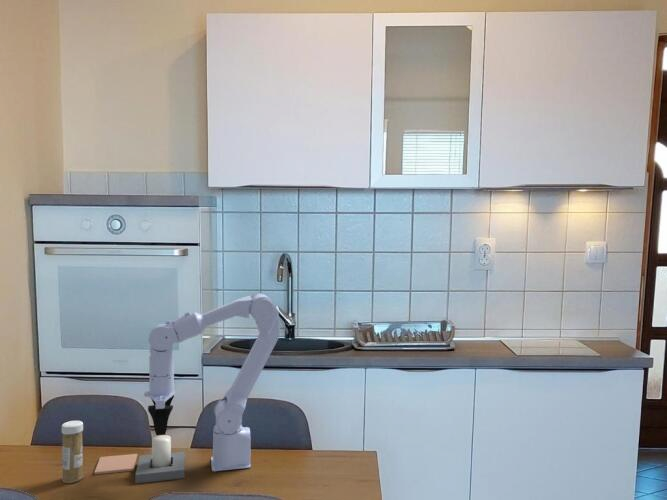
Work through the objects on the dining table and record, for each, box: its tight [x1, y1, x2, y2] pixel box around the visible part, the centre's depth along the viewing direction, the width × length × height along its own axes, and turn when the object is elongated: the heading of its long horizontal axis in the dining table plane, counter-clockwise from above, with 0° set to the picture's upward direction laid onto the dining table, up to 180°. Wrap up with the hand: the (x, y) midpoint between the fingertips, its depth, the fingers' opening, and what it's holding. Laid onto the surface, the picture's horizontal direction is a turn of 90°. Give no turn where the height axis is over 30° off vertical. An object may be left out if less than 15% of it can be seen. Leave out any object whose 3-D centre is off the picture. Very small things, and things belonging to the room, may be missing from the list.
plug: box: [151, 434, 172, 468], centre depth 129 cm, size 4×4×8 cm
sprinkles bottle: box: [61, 420, 84, 484], centre depth 124 cm, size 5×5×14 cm
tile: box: [93, 453, 138, 476], centre depth 132 cm, size 9×9×1 cm
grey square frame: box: [135, 451, 186, 484], centre depth 129 cm, size 11×11×2 cm
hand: (161, 428), depth 129 cm, fingers open, 7 cm apart
